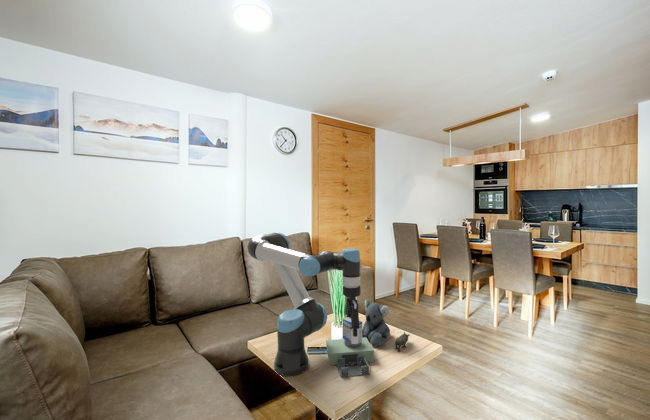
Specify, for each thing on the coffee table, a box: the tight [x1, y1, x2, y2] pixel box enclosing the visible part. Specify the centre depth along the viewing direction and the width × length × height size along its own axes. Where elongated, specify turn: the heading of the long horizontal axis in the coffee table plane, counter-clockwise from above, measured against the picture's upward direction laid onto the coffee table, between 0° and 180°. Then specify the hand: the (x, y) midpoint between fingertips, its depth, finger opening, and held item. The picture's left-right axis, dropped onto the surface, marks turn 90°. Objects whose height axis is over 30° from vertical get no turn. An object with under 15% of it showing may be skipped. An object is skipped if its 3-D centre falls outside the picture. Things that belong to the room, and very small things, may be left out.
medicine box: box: [342, 317, 363, 345], centre depth 126 cm, size 8×4×9 cm, turn 40°
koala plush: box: [362, 299, 391, 348], centre depth 156 cm, size 17×18×20 cm
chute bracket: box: [336, 356, 370, 378], centre depth 126 cm, size 12×9×4 cm
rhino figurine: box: [394, 332, 410, 353], centre depth 147 cm, size 4×14×6 cm, turn 140°
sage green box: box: [325, 337, 375, 366], centre depth 138 cm, size 20×13×9 cm, turn 97°
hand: (352, 338), depth 126 cm, fingers closed on medicine box, 9 cm apart
